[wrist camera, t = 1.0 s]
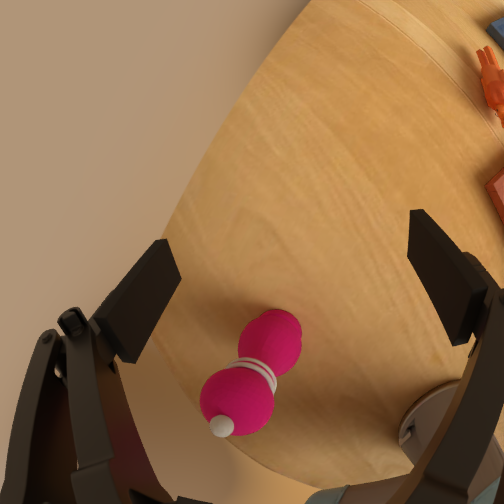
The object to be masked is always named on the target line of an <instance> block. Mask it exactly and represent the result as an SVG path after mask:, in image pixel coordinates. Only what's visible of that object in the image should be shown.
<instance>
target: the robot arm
mask: <svg viewBox="0 0 504 504" xmlns="http://www.w3.org/2000/svg"><path fill="white" fill-rule="evenodd" d="M407 257H408V259H409V261H410V263H411V264H412V266H413V268H414V270H415V271H416V273H417V275H418V277H419V279H420V280H421V282H422V284H423V286H424V288H425V290H426V292H427V293H428V295H429V297H430V299H431V301H432V303H433V305H434V307H435V309H436V311H437V313H438V315H439V318H440V320H441V322H442V324H443V326H444V328H445V330H446V333H447V335H448V337H449V339H450V342H451V344H452V346H457V345H461V344H465V343H468V341H469V339H470V337H471V334H472V332H473V333H474V335H475V337H476V341H475V343H474V345H473V347H472V349H471V351H470V353H469V355H468V358H469V359H468V362H467V365H466V367H465V370H464V373H463V375H462V378H461V380H456V381H452V382H448V383H445V384H443V385H440V386H438V387H436V388H434V389H433V390H431V391H429V392H428V393H426V394H425V395H423V396H422V397H421V398H420V399H418V400H417V401H416V402H415V403H414V404H413V405H412V406H411V407H410V409H409V410H408V411H407V412H406V414H405V415H404V417H403V419H402V421H401V423H400V426H399V431H398V435H399V440H398V441H399V447H400V446H401V448H402V450H403V451H404V453H405V454H406V455H407V457H408V458H409V459H410V461H411V462H412V463H413V465H414V468H413V469H412V471H411V472H410V474H406V475H402V476H398V477H394V478H390V479H385V480H380V481H375V482H370V483H364V484H358V485H352V486H350V485H346V486H344V487H339V488H332V489H325V490H321V491H318V492H316V493H314V494H313V495H311V496H310V497H309V498H308V500H307V501H306V503H305V504H504V453H503V451H502V449H501V447H500V445H499V443H498V441H497V439H496V437H495V436H494V434H493V433H494V431H495V428H496V425H497V422H498V419H499V416H500V413H501V410H502V407H503V404H504V288H503V289H501V288H500V287H499V286H498V284H497V283H496V282H495V280H494V279H493V278H492V276H491V275H490V274H489V273H488V271H486V269H485V268H484V266H483V265H482V264H481V263H480V262H479V260H478V259H477V258H476V257H475V256H473V255H472V254H470V253H469V252H461V250H460V249H459V248H458V247H457V246H456V245H455V243H454V242H453V241H452V240H451V239H450V238H449V237H448V235H447V234H446V233H445V232H444V231H443V230H442V229H441V228H440V227H439V226H438V224H437V223H436V222H435V221H434V220H433V219H432V218H431V217H430V216H429V215H428V214H427V213H426V212H425V211H424V210H423V209H417V210H410V222H409V239H408V252H407ZM181 279H182V278H181V276H180V273H179V270H178V268H177V265H176V263H175V260H174V257H173V254H172V252H171V249H170V246H169V244H168V241H167V239H160V240H155V241H154V243H153V244H152V245H151V246H150V247H149V248H148V250H147V251H146V252H145V253H144V254H143V255H142V257H141V258H140V259H139V260H138V261H137V263H136V264H135V265H134V266H133V267H132V268H131V270H130V271H129V272H128V273H127V275H126V276H125V277H124V278H123V279H122V281H121V282H120V283H119V284H118V286H117V287H116V288H115V289H114V290H113V291H111V292H110V293H109V295H108V296H107V297H106V299H105V300H104V301H103V302H102V304H101V306H99V308H98V309H97V310H96V311H95V313H94V314H93V315H92V317H91V318H90V319H89V321H87V319H86V318H85V316H84V314H83V313H82V311H81V310H80V308H78V307H73V308H70V309H68V310H67V311H65V312H64V313H63V314H61V316H60V317H59V318H58V321H57V323H58V324H59V326H60V327H61V329H62V330H63V332H64V333H65V336H60V335H59V334H58V333H57V331H56V330H55V329H49V330H46V331H45V332H43V333H42V335H41V336H40V337H39V339H38V341H37V343H36V346H35V349H34V352H33V354H32V357H31V360H30V363H29V366H28V369H27V373H26V375H25V379H24V382H23V385H22V389H21V392H20V396H19V400H18V404H17V408H16V412H15V416H14V421H13V425H12V430H11V436H10V442H9V448H8V454H7V462H6V471H5V480H4V483H3V486H2V489H1V493H0V504H212V503H208V502H203V501H198V500H193V499H189V498H185V497H180V496H178V498H177V501H173V499H172V498H171V496H170V495H169V494H168V492H167V491H166V490H165V489H164V488H163V487H162V486H161V485H160V483H159V481H158V480H157V477H156V475H155V473H154V471H153V468H152V466H151V464H150V462H149V459H148V457H147V454H146V452H145V449H144V447H143V444H142V442H141V439H140V437H139V434H138V431H137V428H136V426H135V423H134V420H133V417H132V414H131V411H130V408H129V405H128V402H127V399H126V395H125V392H124V389H123V385H122V382H121V378H120V374H119V370H118V366H117V364H116V362H115V360H114V357H115V355H116V353H117V355H118V356H119V358H120V359H121V360H122V362H126V363H133V364H136V362H137V360H138V358H139V356H140V354H141V352H142V350H143V348H144V346H145V345H146V342H147V341H148V339H149V337H150V335H151V333H152V331H153V330H154V328H155V326H156V324H157V322H158V320H159V319H160V317H161V315H162V313H163V311H164V309H165V308H166V306H167V304H168V302H169V300H170V299H171V297H172V295H173V293H174V292H175V290H176V288H177V286H178V285H179V283H180V281H181ZM55 368H56V369H57V370H58V372H59V373H60V377H57V376H56V375H55ZM77 460H78V464H79V468H78V470H77Z"/></svg>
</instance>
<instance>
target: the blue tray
mask: <svg viewBox="0 0 504 504" xmlns="http://www.w3.org/2000/svg"><path fill="white" fill-rule="evenodd" d="M486 31H487V32H488V34H489V35H490V36H491V37H492V38H493V39H494V40H495V41H496V42H497V43H498V44H499V46H500V47H501V48H502V49H503V50H504V17H503V18H501V19H498V20H496V21H494V22H492V23H490V25H489V26H488V28H487V29H486Z"/></svg>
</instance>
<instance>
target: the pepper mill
mask: <svg viewBox="0 0 504 504" xmlns="http://www.w3.org/2000/svg"><path fill="white" fill-rule="evenodd" d="M301 336H302V330H301V326H300V324H299V322H298V320H297V319H296V318H295V317H294V316H293V315H292V314H290V313H288V312H286V311H283V310H270V311H267V312H265V313H263V314H262V315H261V316H260V317H258V318H256V319H254V320H252V321H251V322H250V323H249V324H248V325H247V326H246V327H245V329H244V330H243V332H242V333H241V336H240V339H239V343H238V356H239V358H238V359H235V360H233V361H231V362H230V363H229V364H228V365H227V366H226V368H225V369H223V370H221V371H218V372H216V373H215V374H213V375H212V376H211V377H210V378H209V379H208V380H207V381H206V383H205V385H204V386H203V388H202V391H201V394H200V407H201V411H202V413H203V415H204V417H205V418H206V420H207V421H208V422H209V423H210V424H209V426H210V430H211V432H212V433H213V434H214V435H216V436H218V437H227V436H229V435H235V436H243V435H248V434H251V433H254V432H256V431H258V430H259V429H261V428H262V427H263V426H264V425H265V424H266V423H267V422H268V420H269V419H270V417H271V415H272V412H273V409H274V397H273V395H274V393H275V390H276V387H277V381H276V377H278V376H280V375H282V374H284V373H286V372H287V371H288V370H290V369H291V368H292V367H293V366H294V365H295V363H296V362H297V360H298V358H299V356H300V353H301V346H302V344H301Z"/></svg>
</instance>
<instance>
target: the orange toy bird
mask: <svg viewBox="0 0 504 504" xmlns="http://www.w3.org/2000/svg"><path fill="white" fill-rule="evenodd" d="M483 49H484V51H485V52H484V51H482V50H480V49H479V50H478V51H476V53H477V55H478V58H479V61H480V63H481V66H482V68H481V72H482V75H483V78H482V79H481V83H482V86H483V89H484V93H485V98H486V100H487V104H488V107H490V108H492V109H493V110H495V111H496V113H495V115H496V116H497V117H499V118H500V119H501V124H502V127H503V128H504V70H503V69H502V70H501V69H500V67H499V65H498V63H497V60H496V58H495V55H494V53H493V50H492V48H490V47H489V46H486V47H484V48H483ZM485 54H486V55H485ZM486 56H487V57H486ZM487 59H488V60H487ZM488 61H489V62H488ZM489 64H490V65H489Z"/></svg>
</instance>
